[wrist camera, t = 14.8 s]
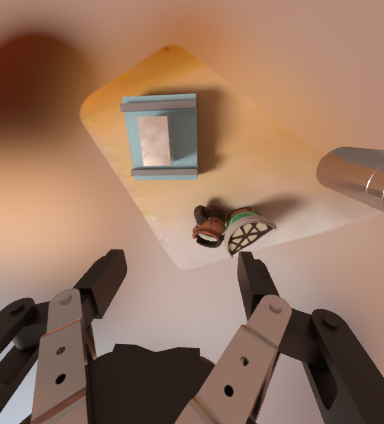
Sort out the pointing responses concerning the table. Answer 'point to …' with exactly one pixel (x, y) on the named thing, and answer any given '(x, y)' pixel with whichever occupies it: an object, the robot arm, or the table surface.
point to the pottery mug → (210, 225)
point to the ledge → (183, 134)
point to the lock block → (157, 140)
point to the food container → (245, 229)
